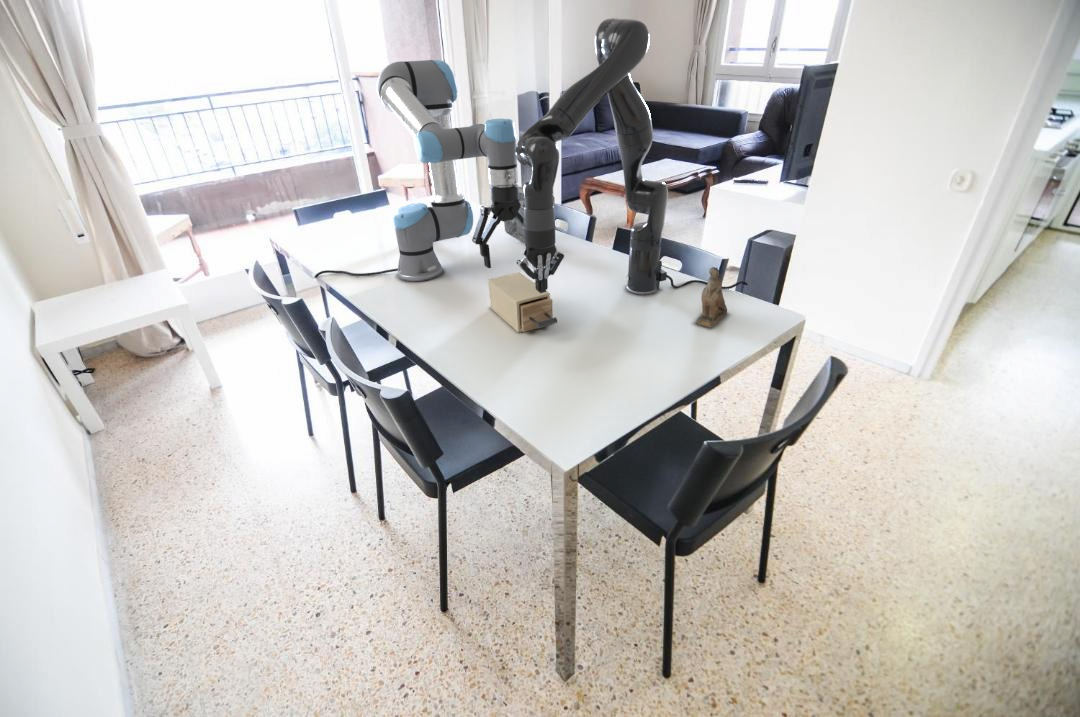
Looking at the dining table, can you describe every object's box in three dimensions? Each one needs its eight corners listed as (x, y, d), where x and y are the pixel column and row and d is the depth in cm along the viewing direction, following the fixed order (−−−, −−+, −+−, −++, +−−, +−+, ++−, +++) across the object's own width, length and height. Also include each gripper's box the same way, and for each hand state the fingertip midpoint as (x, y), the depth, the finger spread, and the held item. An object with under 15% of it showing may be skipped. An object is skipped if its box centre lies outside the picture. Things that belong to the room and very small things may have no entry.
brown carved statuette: (709, 335, 136) (713, 280, 124) (691, 329, 139) (693, 274, 128) (730, 313, 142) (736, 258, 130) (712, 307, 145) (716, 253, 133)
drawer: (563, 331, 134) (562, 307, 130) (533, 340, 130) (532, 315, 127) (524, 301, 151) (522, 278, 147) (497, 308, 148) (494, 285, 144)
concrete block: (560, 248, 193) (559, 196, 183) (541, 254, 189) (540, 200, 178) (521, 233, 212) (519, 184, 201) (504, 237, 207) (500, 188, 197)
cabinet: (550, 323, 141) (549, 293, 136) (518, 332, 137) (516, 301, 132) (521, 300, 154) (519, 272, 150) (490, 308, 150) (488, 279, 145)
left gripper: (465, 194, 122) (474, 275, 133) (552, 180, 132) (554, 256, 143) (454, 188, 128) (463, 266, 139) (538, 175, 138) (541, 249, 149)
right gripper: (522, 234, 114) (526, 302, 123) (571, 224, 119) (571, 290, 128) (507, 226, 119) (512, 292, 128) (555, 217, 125) (556, 281, 134)
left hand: (509, 261), depth 141 cm, fingers open, 13 cm apart
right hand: (541, 291), depth 128 cm, fingers closed
